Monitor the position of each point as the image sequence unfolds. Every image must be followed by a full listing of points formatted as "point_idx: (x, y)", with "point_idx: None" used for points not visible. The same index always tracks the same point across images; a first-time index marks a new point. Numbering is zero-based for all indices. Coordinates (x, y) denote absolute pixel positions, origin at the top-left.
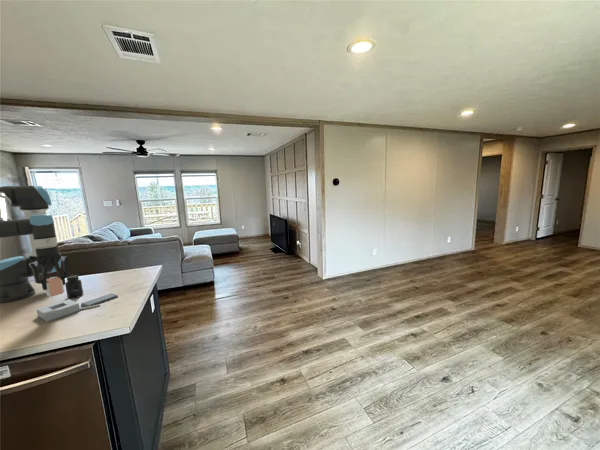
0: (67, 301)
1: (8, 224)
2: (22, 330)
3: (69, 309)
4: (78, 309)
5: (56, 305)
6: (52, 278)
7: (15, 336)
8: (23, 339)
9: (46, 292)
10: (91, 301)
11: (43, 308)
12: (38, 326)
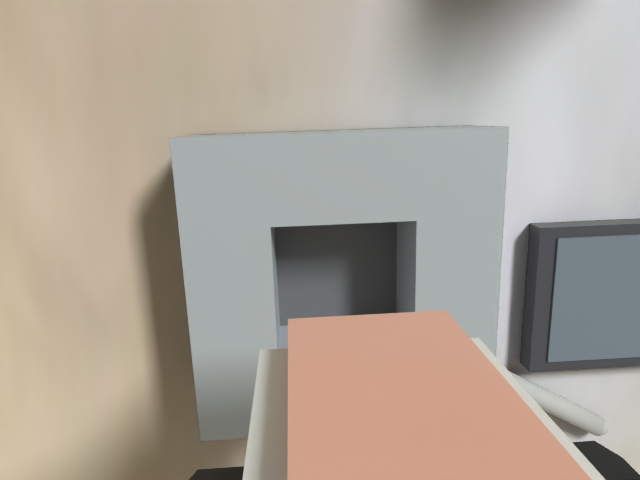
0: (460, 222)
1: None
2: (52, 376)
3: None
4: None
5: (348, 222)
6: None
7: (5, 456)
8: None
9: (255, 387)
10: (615, 281)
11: (227, 204)
12: (152, 409)
